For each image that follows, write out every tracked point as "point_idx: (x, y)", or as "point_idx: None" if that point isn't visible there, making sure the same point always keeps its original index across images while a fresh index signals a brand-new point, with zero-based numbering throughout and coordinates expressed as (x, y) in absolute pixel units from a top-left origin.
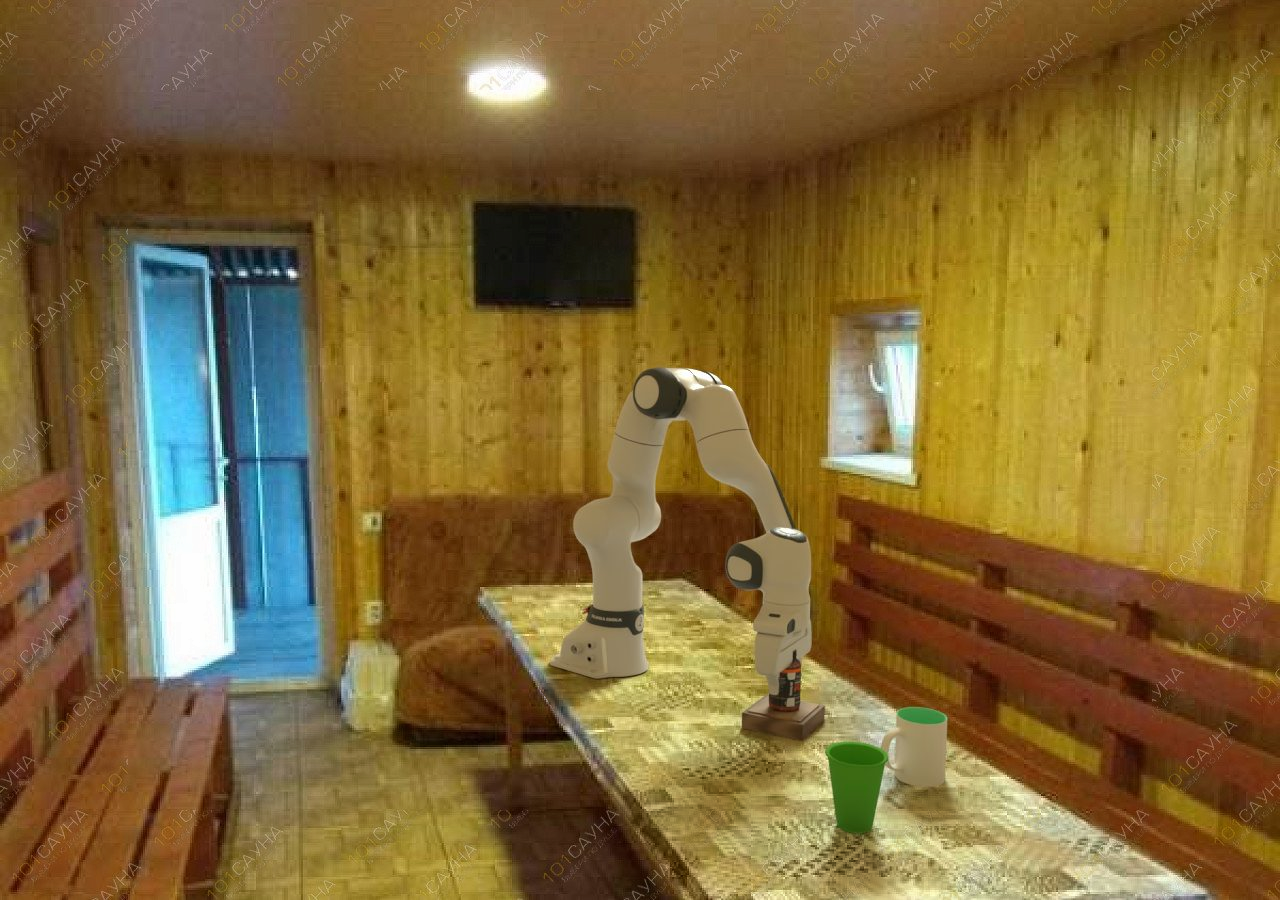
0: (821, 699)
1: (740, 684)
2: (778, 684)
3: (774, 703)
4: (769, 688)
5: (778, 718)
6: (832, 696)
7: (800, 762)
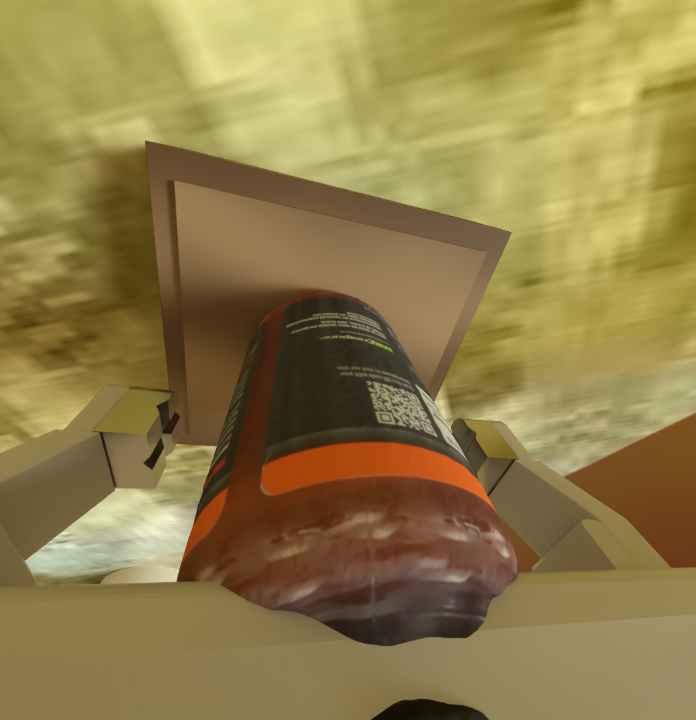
0: (580, 382)
1: None
2: (89, 498)
3: (249, 344)
4: (88, 410)
5: (184, 356)
6: (604, 402)
7: (15, 429)
